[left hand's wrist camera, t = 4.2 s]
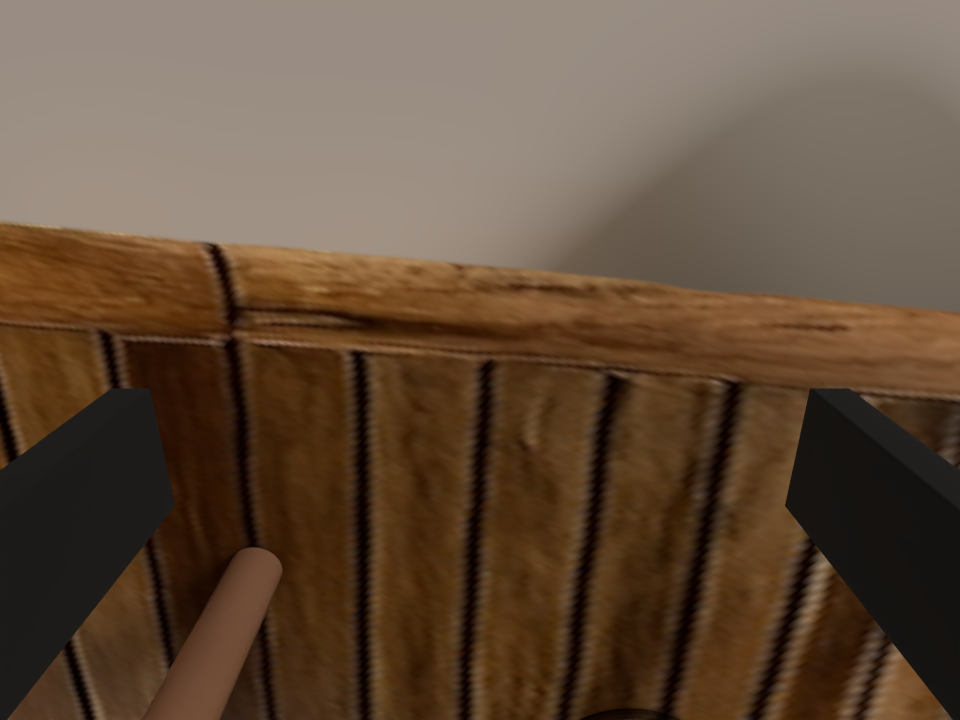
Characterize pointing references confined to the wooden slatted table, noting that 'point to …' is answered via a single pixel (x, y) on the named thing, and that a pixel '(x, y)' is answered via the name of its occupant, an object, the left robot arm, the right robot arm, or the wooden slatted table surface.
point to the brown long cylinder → (219, 641)
